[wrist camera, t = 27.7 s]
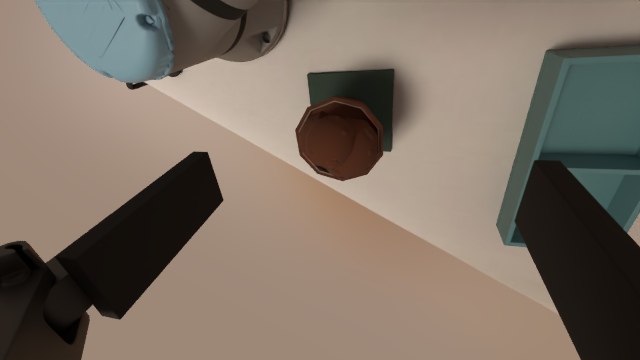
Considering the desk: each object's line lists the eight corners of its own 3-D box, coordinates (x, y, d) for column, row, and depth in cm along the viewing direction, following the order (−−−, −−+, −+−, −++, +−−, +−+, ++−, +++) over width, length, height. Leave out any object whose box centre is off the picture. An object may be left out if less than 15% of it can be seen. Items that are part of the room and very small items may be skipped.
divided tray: (495, 224, 48) (504, 245, 44) (545, 50, 34) (564, 58, 30) (595, 232, 44) (614, 255, 40) (695, 42, 31) (738, 49, 27)
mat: (316, 148, 48) (315, 150, 48) (308, 73, 42) (307, 74, 41) (391, 149, 45) (390, 151, 45) (393, 69, 39) (393, 70, 38)
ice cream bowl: (303, 126, 46) (266, 174, 34) (338, 61, 40) (309, 93, 27) (359, 160, 47) (344, 220, 35) (403, 103, 40) (403, 151, 28)
